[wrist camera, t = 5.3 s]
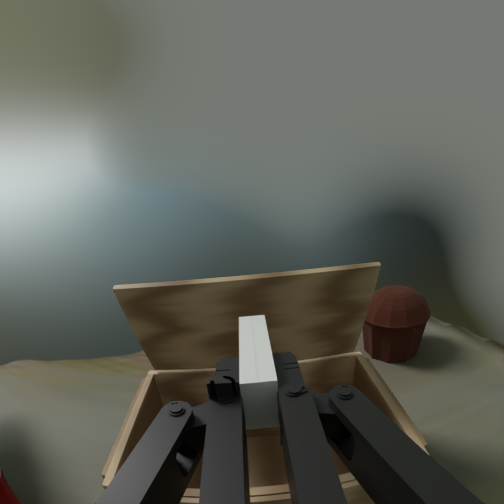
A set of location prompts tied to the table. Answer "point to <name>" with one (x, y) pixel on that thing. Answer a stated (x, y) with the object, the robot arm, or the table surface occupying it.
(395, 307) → the muffin
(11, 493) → the plastic cup
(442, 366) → the table surface
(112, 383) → the table surface
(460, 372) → the table surface
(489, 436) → the table surface
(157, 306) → the flap
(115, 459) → the light wood open box
